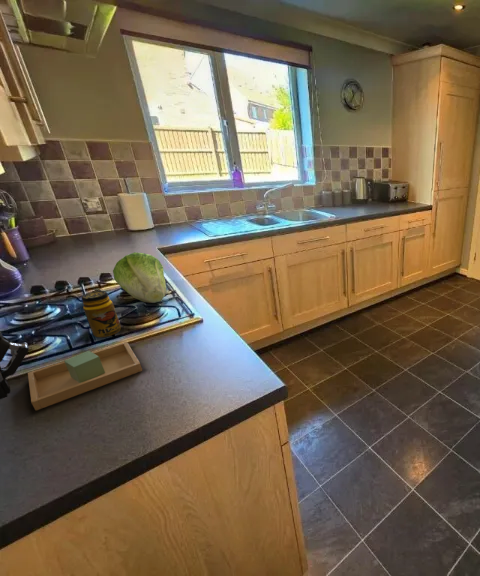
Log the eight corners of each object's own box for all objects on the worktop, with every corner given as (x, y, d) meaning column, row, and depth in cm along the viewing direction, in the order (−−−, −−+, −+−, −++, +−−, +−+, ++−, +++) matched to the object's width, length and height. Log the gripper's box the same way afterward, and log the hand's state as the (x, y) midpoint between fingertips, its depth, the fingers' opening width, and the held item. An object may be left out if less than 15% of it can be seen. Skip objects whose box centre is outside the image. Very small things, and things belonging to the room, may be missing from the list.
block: (81, 384, 71) (73, 367, 69) (71, 377, 73) (63, 360, 71) (105, 372, 74) (99, 356, 72) (95, 366, 76) (88, 350, 74)
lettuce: (184, 307, 111) (133, 324, 103) (164, 276, 126) (118, 288, 117) (172, 272, 103) (116, 287, 95) (153, 243, 118) (103, 253, 109)
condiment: (115, 339, 88) (101, 299, 83) (78, 342, 86) (62, 301, 81) (128, 325, 94) (116, 287, 89) (95, 328, 92) (80, 289, 88)
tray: (36, 412, 64) (31, 402, 63) (32, 382, 72) (27, 372, 71) (143, 372, 76) (140, 363, 75) (129, 350, 84) (126, 341, 82)
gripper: (12, 301, 64) (46, 372, 71) (-102, 324, 55) (-50, 404, 62) (13, 314, 59) (50, 389, 66) (-111, 342, 50) (-54, 426, 57)
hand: (1, 396), depth 64 cm, fingers closed
